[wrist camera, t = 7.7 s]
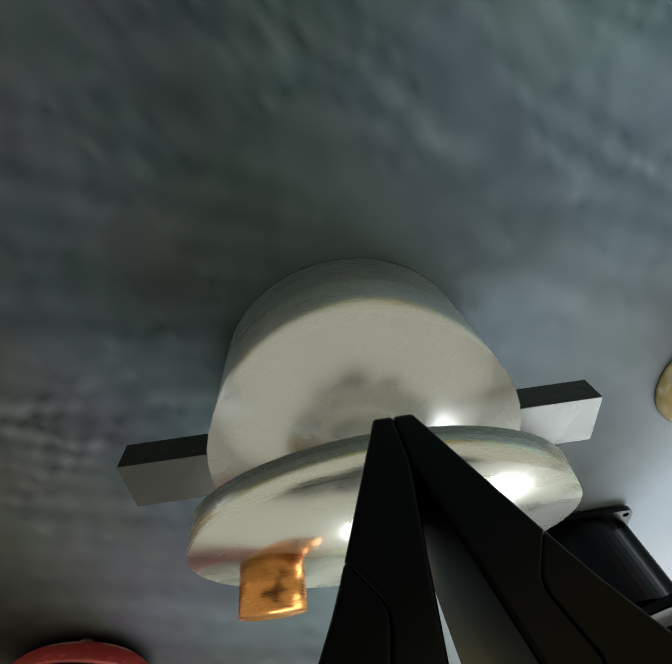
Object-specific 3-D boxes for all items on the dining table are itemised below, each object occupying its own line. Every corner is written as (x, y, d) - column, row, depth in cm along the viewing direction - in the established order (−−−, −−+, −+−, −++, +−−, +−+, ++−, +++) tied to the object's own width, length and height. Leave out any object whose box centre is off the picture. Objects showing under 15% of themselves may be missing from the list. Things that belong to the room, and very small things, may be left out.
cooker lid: (646, 393, 10) (721, 493, 8) (507, 535, 20) (529, 594, 18) (113, 470, 10) (82, 594, 8) (242, 577, 20) (241, 642, 18)
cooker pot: (547, 232, 19) (643, 281, 14) (511, 442, 26) (566, 526, 21) (120, 287, 18) (54, 360, 13) (201, 488, 25) (178, 588, 20)
